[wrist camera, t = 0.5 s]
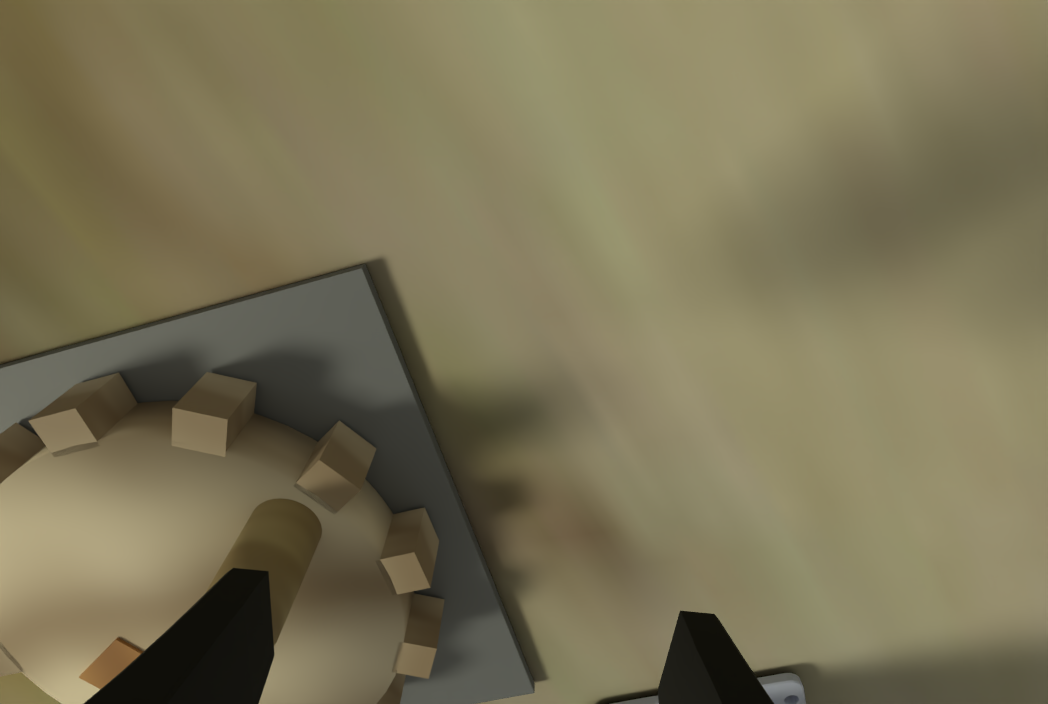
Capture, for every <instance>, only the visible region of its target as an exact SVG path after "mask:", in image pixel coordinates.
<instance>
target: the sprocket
mask: <svg viewBox="0 0 1048 704" xmlns="http://www.w3.org/2000/svg"><path fill="white" fill-rule="evenodd" d="M256 386H257V383H255V382H251V381H246V380H242V379H237V378H233V377H228V376H223V375H219V374H214V373H210V372H206V373H205V375H204V376H203V377H202V378H201V379H200V380H199V381H198V382H197V383H196V384H195V385H194V386H193V387H192V388H191V389H190V390H189V391H188V392H187V393H186V394H185V395H184V396H183V397H182V398H181V399H180V400H179V401H157V402H142V403H137V401H136V400H135V398H134V396H133V395H132V393H131V392H130V390H129V388H128V387H127V385H126V383H125V382H124V380H123V378H122V377H121V375H120V374H119V373H115V374H112V375H108V376H104V377H100V378H97V379H93V380H89V381H86V382H82V383H78V384H75V385H74V386H73V387H71V388H70V389H69V390H68V391H66V392H65V393H64V394H62V395H61V396H60V397H58V398H57V399H56V400H55V401H53V402H52V403H51V404H49V405H48V406H47V407H45V408H44V409H43V410H42V411H40V412H39V413H38V414H36V415H35V416H34V417H32V418H31V419H30V420H29V423H30V424H31V425H32V427H33V428H34V430H35V431H36V433H37V434H38V435H39V437H38V436H37V435H35V434H33V433H32V432H30V431H29V430H27V429H26V428H24V427H23V426H21V425H19V424H18V423H14V424H13V425H12V426H10V427H9V428H8V429H6V430H5V431H4V432H2V433H1V434H0V676H5V675H10V674H14V673H19V672H22V673H23V674H24V675H25V676H26V677H27V678H29V679H30V680H31V681H32V682H33V683H35V684H36V685H37V686H38V687H39V688H41V689H42V690H43V691H44V692H46V693H47V694H48V695H50V696H51V697H53V698H54V699H56V700H57V701H59V702H60V703H61V704H84V703H85V702H86V701H87V700H88V699H90V698H91V697H92V696H93V695H94V694H95V693H97V692H98V691H99V690H100V689H101V688H103V687H104V686H105V685H106V684H107V683H109V682H110V681H111V680H112V679H113V678H115V677H116V676H117V675H118V674H119V673H120V672H121V671H123V670H124V669H125V668H126V667H127V666H128V665H129V664H130V663H132V662H133V661H134V660H135V659H136V658H137V657H138V656H139V655H140V654H141V653H143V652H144V651H145V650H146V649H147V648H148V647H149V646H150V645H151V644H152V643H154V642H155V641H156V640H157V639H158V638H159V637H160V636H161V635H162V634H163V633H165V632H166V631H167V630H168V629H169V628H170V627H171V626H172V625H173V624H174V623H175V622H176V621H177V620H178V619H179V618H180V617H181V616H183V615H184V614H185V613H186V612H187V611H188V610H189V609H190V608H191V607H192V606H193V605H194V604H195V603H196V602H197V601H198V600H199V599H200V598H201V597H202V596H203V595H204V594H205V593H206V592H207V591H208V590H209V589H210V588H211V587H212V586H213V585H215V584H216V583H217V582H218V581H219V580H220V579H221V578H222V577H223V576H224V575H225V574H226V573H227V572H228V571H230V570H231V569H232V568H241V569H251V570H261V571H269V585H270V599H271V613H272V627H273V641H274V659H273V662H272V665H271V668H270V671H269V674H268V677H267V680H266V683H265V686H264V689H263V692H262V695H261V698H260V701H259V704H400V701H401V696H402V691H403V686H404V681H405V676H406V675H411V676H416V677H421V678H427V679H429V675H430V672H431V668H432V664H433V661H434V657H435V653H436V650H437V644H438V638H439V632H440V626H441V619H442V613H443V607H444V601H445V599H440V598H435V597H430V596H425V595H419V594H414V591H417V590H422V589H427V588H431V582H432V577H433V572H434V567H435V561H436V556H437V551H438V545H439V539H438V537H437V534H436V532H435V530H434V528H433V525H432V523H431V521H430V518H429V516H428V514H427V511H426V509H425V507H424V508H419V509H415V510H410V511H406V512H401V513H397V514H393V513H392V511H391V509H390V508H389V507H388V505H387V504H386V503H385V501H384V500H383V499H382V497H381V496H380V495H379V493H378V492H377V491H376V490H375V489H374V488H373V487H372V486H371V484H370V483H369V482H368V481H367V480H366V479H365V478H366V475H367V473H368V470H369V467H370V465H371V462H372V459H373V457H374V454H375V452H376V448H375V447H374V446H372V445H371V444H370V443H368V442H367V441H366V440H364V439H363V438H362V437H361V436H359V435H358V434H357V433H355V432H354V431H353V430H351V429H350V428H349V427H347V426H346V425H345V424H343V423H342V422H341V421H338V422H337V423H336V424H335V425H334V426H333V427H332V428H331V429H330V430H329V431H328V432H327V433H326V434H325V435H324V436H323V437H322V438H321V439H320V440H319V441H318V442H317V441H316V440H314V439H312V438H310V437H309V436H307V435H305V434H303V433H301V432H299V431H297V430H295V429H293V428H291V427H289V426H287V425H284V424H282V423H279V422H277V421H274V420H271V419H269V418H266V417H264V416H261V415H258V414H254V409H255V397H256Z"/></svg>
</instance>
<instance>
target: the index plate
mask: <svg viewBox="0 0 1048 704" xmlns="http://www.w3.org/2000/svg"><path fill="white" fill-rule="evenodd" d="M206 372H210V373H214V374H219V375H223V376H228V377H233V378H237V379H242V380H246V381H251V382H255V383H257V386H256V397H255V409H254V414H258V415H261V416H264V417H266V418H269V419H271V420H274V421H277V422H279V423H282V424H284V425H287V426H289V427H291V428H293V429H295V430H297V431H299V432H301V433H303V434H305V435H307V436H309V437H310V438H312V439H314V440H316V441H317V442H318V441H319V440H320V439H321V438H322V437H323V436H324V435H325V434H326V433H327V432H328V431H329V430H330V429H331V428H332V427H333V426H334V425H335V424H336V423H337V422H338V421H341V422H342V423H343V424H345V425H346V426H347V427H349V428H350V429H351V430H353V431H354V432H355V433H357V434H358V435H359V436H361V437H362V438H363V439H364V440H366V441H367V442H368V443H370V444H371V445H372V446H374V447H375V448H376V452H375V454H374V457H373V459H372V462H371V465H370V467H369V470H368V473H367V475H366V478H365V479H366V480H367V481H368V482H369V483H370V484H371V486H372V487H373V488H374V489H375V490H376V491H377V492H378V493H379V495H380V496H381V497H382V499H383V500H384V501H385V503H386V504H387V505H388V507H389V508H390V509H391V511H392V513H393V514H397V513H401V512H406V511H410V510H415V509H419V508H424V507H425V509H426V511H427V514H428V516H429V518H430V521H431V523H432V525H433V528H434V530H435V532H436V534H437V537H438V539H439V545H438V551H437V556H436V561H435V567H434V572H433V577H432V582H431V588H427V589H422V590H417V591H414V594H419V595H425V596H430V597H435V598H440V599H445V601H444V607H443V613H442V619H441V626H440V632H439V638H438V644H437V650H436V653H435V657H434V661H433V664H432V668H431V672H430V675H429V679H427V678H421V677H416V676H411V675H406V676H405V681H404V686H403V691H402V696H401V701H400V704H475V703H481V702H487V701H492V700H498V699H503V698H509V697H514V696H520V695H525V694H531V693H534V681H533V678H532V676H531V673H530V671H529V668H528V666H527V664H526V661H525V659H524V656H523V654H522V651H521V649H520V646H519V644H518V641H517V639H516V636H515V634H514V631H513V629H512V626H511V624H510V621H509V619H508V616H507V614H506V611H505V609H504V606H503V604H502V602H501V599H500V597H499V594H498V592H497V589H496V587H495V584H494V582H493V579H492V577H491V574H490V572H489V569H488V567H487V564H486V562H485V559H484V557H483V554H482V552H481V549H480V547H479V544H478V542H477V540H476V537H475V535H474V532H473V530H472V527H471V525H470V522H469V520H468V517H467V515H466V512H465V510H464V507H463V505H462V502H461V500H460V497H459V495H458V492H457V490H456V487H455V485H454V483H453V480H452V478H451V475H450V473H449V470H448V468H447V465H446V463H445V460H444V458H443V455H442V453H441V450H440V448H439V445H438V443H437V440H436V438H435V435H434V433H433V430H432V428H431V425H430V423H429V421H428V418H427V416H426V413H425V411H424V408H423V406H422V403H421V401H420V398H419V396H418V393H417V391H416V388H415V386H414V383H413V381H412V378H411V376H410V373H409V371H408V368H407V366H406V363H405V361H404V359H403V356H402V354H401V351H400V349H399V346H398V344H397V341H396V339H395V336H394V334H393V331H392V329H391V326H390V324H389V321H388V319H387V316H386V314H385V311H384V309H383V306H382V304H381V301H380V299H379V297H378V294H377V292H376V289H375V287H374V284H373V282H372V279H371V277H370V274H369V272H368V269H367V267H366V264H362V265H358V266H355V267H351V268H347V269H344V270H340V271H337V272H333V273H329V274H326V275H322V276H319V277H315V278H311V279H308V280H304V281H301V282H297V283H293V284H290V285H286V286H283V287H279V288H275V289H272V290H268V291H265V292H261V293H257V294H254V295H250V296H247V297H243V298H239V299H236V300H232V301H229V302H225V303H221V304H218V305H214V306H211V307H207V308H203V309H200V310H196V311H193V312H189V313H185V314H182V315H178V316H175V317H171V318H167V319H164V320H160V321H157V322H153V323H149V324H146V325H142V326H139V327H135V328H132V329H128V330H124V331H121V332H117V333H114V334H110V335H106V336H103V337H99V338H96V339H92V340H88V341H85V342H81V343H78V344H74V345H70V346H67V347H63V348H60V349H56V350H52V351H49V352H45V353H42V354H38V355H34V356H31V357H27V358H24V359H20V360H16V361H13V362H9V363H6V364H2V365H0V434H1V433H2V432H4V431H5V430H6V429H8V428H9V427H10V426H12V425H13V424H14V423H18V424H19V425H21V426H23V427H24V428H26V429H27V430H29V431H30V432H32V433H33V434H35V435H37V436H38V437H39V435H38V434H37V433H36V431H35V430H34V428H33V427H32V425H31V424H30V423H29V420H30V419H31V418H32V417H34V416H35V415H36V414H38V413H39V412H40V411H42V410H43V409H44V408H45V407H47V406H48V405H49V404H51V403H52V402H53V401H55V400H56V399H57V398H58V397H60V396H61V395H62V394H64V393H65V392H66V391H68V390H69V389H70V388H71V387H73V386H74V385H75V384H78V383H82V382H86V381H89V380H93V379H97V378H100V377H104V376H108V375H112V374H115V373H119V374H120V375H121V377H122V378H123V380H124V382H125V383H126V385H127V387H128V388H129V390H130V392H131V393H132V395H133V396H134V398H135V400H136V401H137V403H142V402H157V401H179V400H180V399H181V398H182V397H183V396H184V395H185V394H186V393H187V392H188V391H189V390H190V389H191V388H192V387H193V386H194V385H195V384H196V383H197V382H198V381H199V380H200V379H201V378H202V377H203V376H204V375H205V373H206Z"/></svg>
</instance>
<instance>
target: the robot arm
mask: <svg viewBox="0 0 1048 704" xmlns="http://www.w3.org/2000/svg"><path fill="white" fill-rule="evenodd" d="M273 659H274V641H273V627H272V613H271V599H270V585H269V571H261V570H251V569H241V568H232V569H231V570H230V571H228V572H227V573H226V574H225V575H224V576H223V577H222V578H221V579H220V580H219V581H218V582H217V583H216V584H215V585H213V586H212V587H211V588H210V589H209V590H208V591H207V592H206V593H205V594H204V595H203V596H202V597H201V598H200V599H199V600H198V601H197V602H196V603H195V604H194V605H193V606H192V607H191V608H190V609H189V610H188V611H187V612H186V613H185V614H184V615H183V616H181V617H180V618H179V619H178V620H177V621H176V622H175V623H174V624H173V625H172V626H171V627H170V628H169V629H168V630H167V631H166V632H165V633H163V634H162V635H161V636H160V637H159V638H158V639H157V640H156V641H155V642H154V643H152V644H151V645H150V646H149V647H148V648H147V649H146V650H145V651H144V652H143V653H141V654H140V655H139V656H138V657H137V658H136V659H135V660H134V661H133V662H132V663H130V664H129V665H128V666H127V667H126V668H125V669H124V670H123V671H121V672H120V673H119V674H118V675H117V676H116V677H115V678H113V679H112V680H111V681H110V682H109V683H107V684H106V685H105V686H104V687H103V688H101V689H100V690H99V691H98V692H97V693H95V694H94V695H93V696H92V697H91V698H90V699H88V700H87V701H86V702H85V703H84V704H259V701H260V698H261V695H262V692H263V689H264V686H265V683H266V680H267V677H268V674H269V671H270V668H271V665H272V662H273ZM611 704H806V700H805V693H804V687H803V685H802V682H801V680H800V678H799V676H797V675H796V674H792V673H782V674H777V675H771V676H765V677H759V678H757V677H756V676H755V674H754V673H753V671H752V670H751V668H750V667H749V665H748V664H747V662H746V661H745V659H744V658H743V656H742V655H741V653H740V652H739V650H738V649H737V647H736V645H735V644H734V642H733V641H732V639H731V638H730V636H729V635H728V633H727V631H726V630H725V628H724V627H723V625H722V624H721V622H720V621H719V619H718V618H717V617H716V615H715V614H709V613H698V612H688V611H680V613H679V617H678V620H677V624H676V627H675V631H674V634H673V638H672V642H671V645H670V649H669V652H668V656H667V659H666V663H665V666H664V670H663V674H662V677H661V681H660V684H659V688H658V695H657V696H651V697H645V698H640V699H634V700H628V701H622V702H617V703H611Z"/></svg>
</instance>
